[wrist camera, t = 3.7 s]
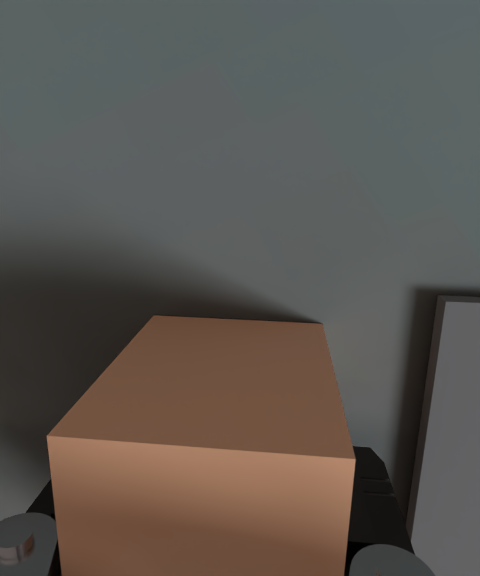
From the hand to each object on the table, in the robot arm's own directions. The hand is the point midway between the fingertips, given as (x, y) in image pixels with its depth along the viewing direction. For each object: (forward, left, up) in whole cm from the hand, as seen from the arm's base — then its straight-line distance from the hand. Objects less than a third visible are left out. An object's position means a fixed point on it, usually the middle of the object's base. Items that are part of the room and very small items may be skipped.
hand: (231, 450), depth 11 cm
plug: (+1, 0, -1) cm, 1 cm away
